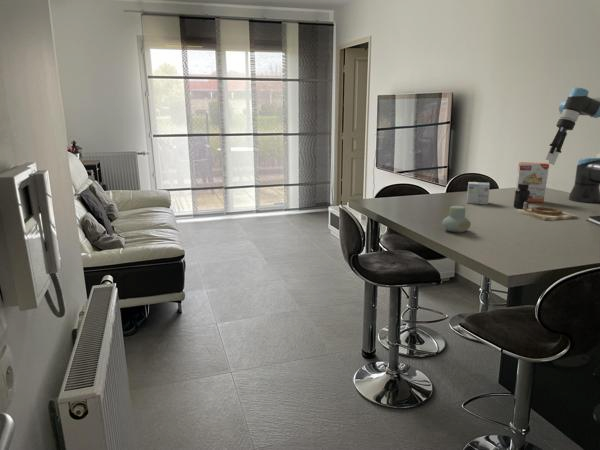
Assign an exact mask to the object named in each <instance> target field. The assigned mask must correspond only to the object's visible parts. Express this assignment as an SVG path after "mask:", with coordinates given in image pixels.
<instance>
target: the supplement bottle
mask: <svg viewBox="0 0 600 450" xmlns="http://www.w3.org/2000/svg"><path fill="white" fill-rule="evenodd" d="M528 188H529V185H528V184H518V189H516V191H515V190H514V196H515V197H513V198H514V199H513V208H515V209H523V206H524V202H528V204H527V209H529V203H530V202H529V197H530V191H529V190H528Z"/></svg>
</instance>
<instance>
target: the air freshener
mask: <svg viewBox="0 0 600 450" xmlns="http://www.w3.org/2000/svg"><path fill="white" fill-rule="evenodd" d="M441 225H442V227H443V228H444V229H445V230H447V231H448V232H452V233H464V232H466V231H468V230H469V229H470V227H471V221H470V220H469V219H468V218H467V217H466V207H465V206H463V205H451V206H450V207H449V215H447V216H446V217H445V218H444V219H443V220H442V224H441Z"/></svg>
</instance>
